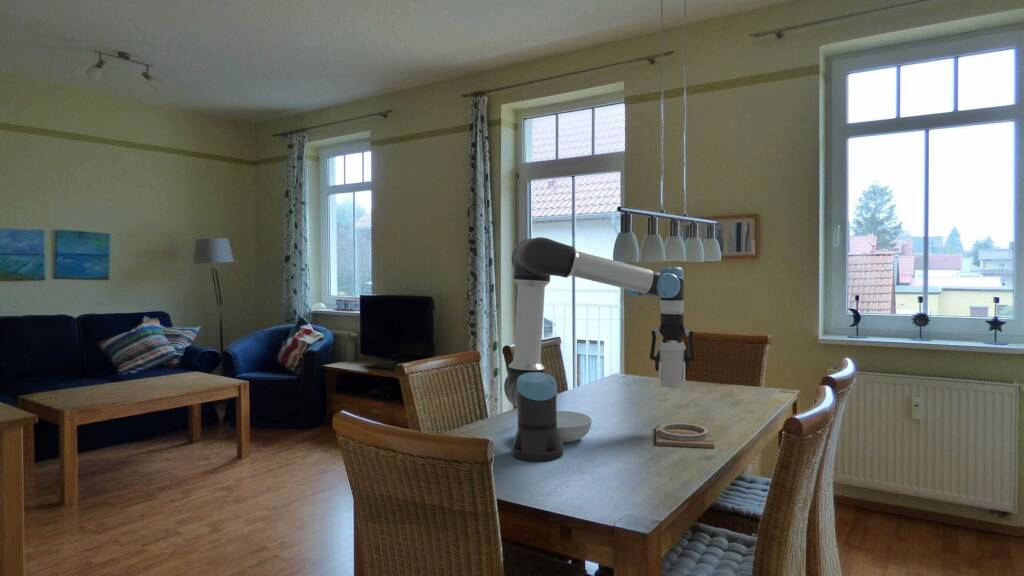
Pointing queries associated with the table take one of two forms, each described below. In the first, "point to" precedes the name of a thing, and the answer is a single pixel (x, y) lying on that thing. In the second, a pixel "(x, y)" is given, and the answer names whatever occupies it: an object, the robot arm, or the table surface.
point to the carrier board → (683, 435)
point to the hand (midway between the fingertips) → (671, 380)
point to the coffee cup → (671, 363)
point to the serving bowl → (572, 425)
